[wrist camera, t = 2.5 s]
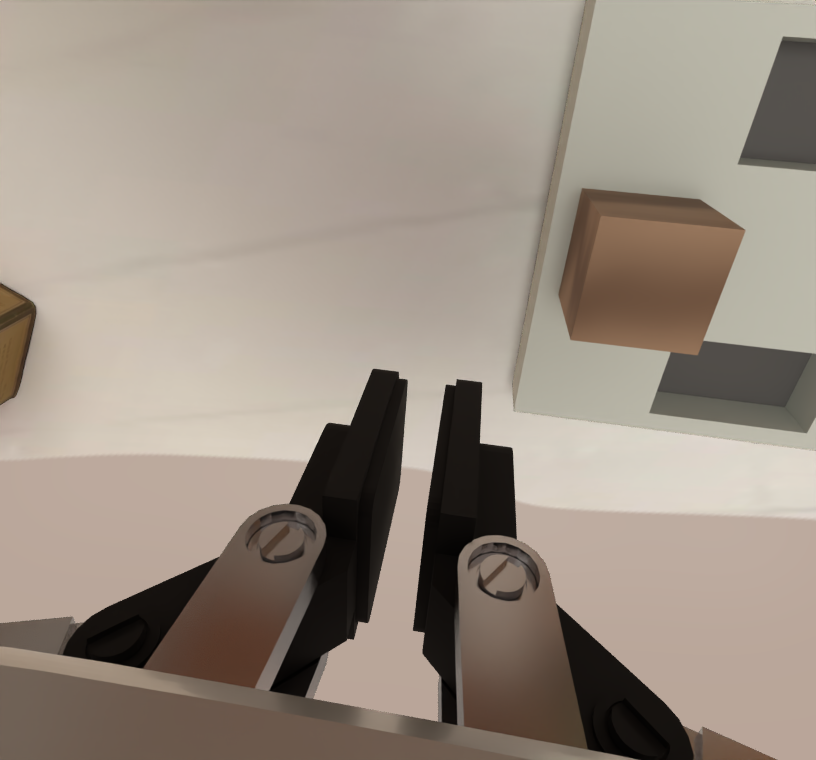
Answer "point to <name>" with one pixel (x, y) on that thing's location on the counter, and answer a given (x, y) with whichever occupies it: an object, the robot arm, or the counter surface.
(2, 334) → the food packaging
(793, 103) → the board
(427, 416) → the counter surface
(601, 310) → the walnut block
